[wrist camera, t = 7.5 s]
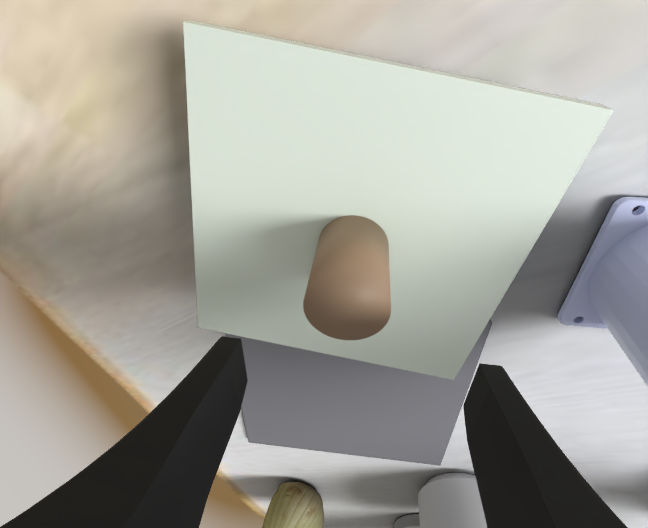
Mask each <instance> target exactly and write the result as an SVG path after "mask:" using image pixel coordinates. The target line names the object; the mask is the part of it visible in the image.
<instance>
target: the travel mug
mask: <svg viewBox="0 0 648 528" xmlns="http://www.w3.org/2000/svg"><path fill="white" fill-rule="evenodd" d="M393 528H420V519H419V514H410V515H405V516H402V517H400V518H398V519H397V520H396V521H395V522H394V525H393Z"/></svg>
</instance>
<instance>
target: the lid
mask: <svg viewBox="0 0 648 528" xmlns="http://www.w3.org/2000/svg"><path fill="white" fill-rule="evenodd" d="M183 28H184V49H185V70H186V91H187V112H188V133H189V154H190V175H191V196H192V217H193V238H194V259H195V280H196V301H197V322H198V328H202V329H207V330H212V331H217V332H222V333H227V334H232V335H236V336H241V337H246V338H251V339H256V340H261V341H266V342H271V343H275V344H280V345H285V346H290V347H295V348H300V349H305V350H310V351H315V352H319V353H324V354H329V355H334V356H339V357H344V358H349V359H354V360H358V361H363V362H368V363H373V364H378V365H383V366H388V367H393V368H398V369H402V370H407V371H412V372H417V373H422V374H427V375H432V376H437V377H441V378H446V379H451V380H454V379H455V377H456V376H457V374H458V372H459V370H460V369H461V367H462V365H463V364H464V362H465V360H466V359H467V357H468V355H469V354H470V352H471V350H472V349H473V347H474V345H475V344H476V342H477V340H478V338H479V337H480V335H481V333H482V332H483V330H484V328H485V327H486V325H487V323H488V322H489V320H490V318H491V317H492V315H493V313H494V312H495V310H496V308H497V306H498V305H499V303H500V301H501V300H502V298H503V296H504V295H505V293H506V291H507V290H508V288H509V286H510V285H511V283H512V281H513V280H514V278H515V276H516V275H517V273H518V271H519V269H520V268H521V266H522V264H523V263H524V261H525V259H526V258H527V256H528V254H529V253H530V251H531V249H532V248H533V246H534V244H535V243H536V241H537V239H538V237H539V236H540V234H541V232H542V231H543V229H544V227H545V226H546V224H547V222H548V221H549V219H550V217H551V216H552V214H553V212H554V211H555V209H556V207H557V205H558V204H559V202H560V200H561V199H562V197H563V195H564V194H565V192H566V190H567V189H568V187H569V185H570V184H571V182H572V180H573V179H574V177H575V175H576V173H577V172H578V170H579V168H580V167H581V165H582V163H583V162H584V160H585V158H586V157H587V155H588V153H589V152H590V150H591V148H592V147H593V145H594V143H595V141H596V140H597V138H598V136H599V135H600V133H601V131H602V130H603V128H604V126H605V125H606V123H607V121H608V120H609V118H610V116H611V115H612V113H613V111H614V110H612V109H610V108H608V107H606V106H604V105H602V104H597V103H593V102H588V101H583V100H578V99H573V98H568V97H563V96H558V95H554V94H549V93H544V92H539V91H534V90H529V89H524V88H520V87H515V86H510V85H505V84H500V83H495V82H490V81H485V80H481V79H476V78H471V77H466V76H461V75H456V74H451V73H446V72H442V71H437V70H432V69H427V68H422V67H417V66H412V65H407V64H403V63H398V62H393V61H388V60H383V59H378V58H373V57H368V56H364V55H359V54H354V53H349V52H344V51H339V50H334V49H329V48H325V47H320V46H315V45H310V44H305V43H300V42H295V41H290V40H286V39H281V38H276V37H271V36H266V35H261V34H256V33H251V32H247V31H242V30H237V29H232V28H227V27H222V26H217V25H212V24H208V23H203V22H198V21H186V22H183Z"/></svg>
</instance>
